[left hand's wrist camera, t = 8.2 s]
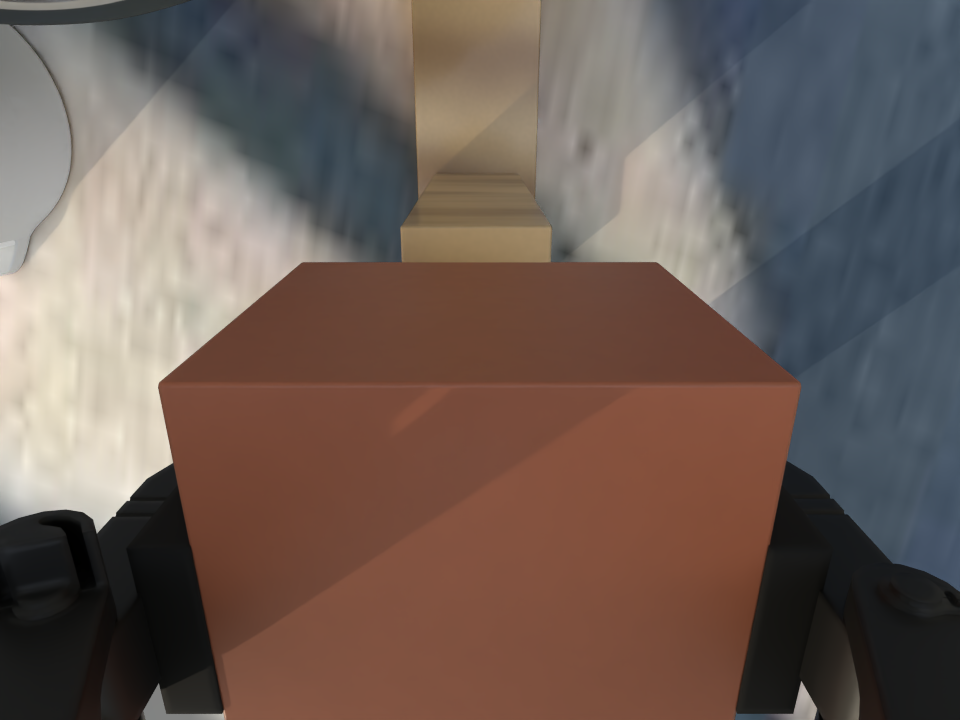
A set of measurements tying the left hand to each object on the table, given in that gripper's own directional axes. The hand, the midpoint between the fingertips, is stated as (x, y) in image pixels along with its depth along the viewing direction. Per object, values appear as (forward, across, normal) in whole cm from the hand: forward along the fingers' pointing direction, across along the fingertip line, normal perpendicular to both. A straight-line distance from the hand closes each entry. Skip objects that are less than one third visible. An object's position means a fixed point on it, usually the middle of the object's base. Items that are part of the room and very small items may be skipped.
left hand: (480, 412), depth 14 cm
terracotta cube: (0, 0, 0) cm, 0 cm away
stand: (+28, 0, -8) cm, 29 cm away
